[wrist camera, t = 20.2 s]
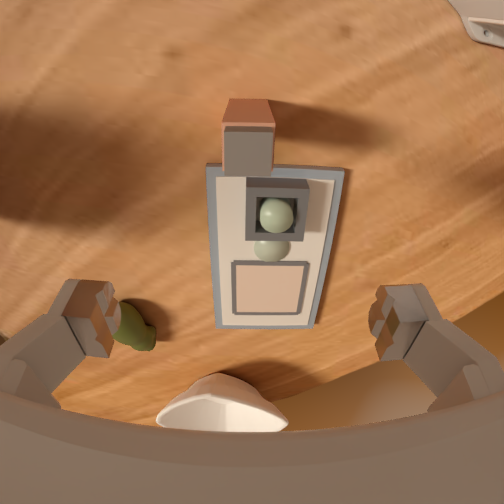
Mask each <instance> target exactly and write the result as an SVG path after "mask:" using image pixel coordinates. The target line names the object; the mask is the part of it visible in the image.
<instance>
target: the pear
mask: <svg viewBox="0 0 504 504" xmlns="http://www.w3.org/2000/svg"><path fill="white" fill-rule="evenodd" d="M119 305H120V310H121V322H120V326H119V329H118V331H117V332H116V333H114V334H113V335H112V337H113V339H115V340H116V341H118V342H120V343H122V344H125V345H130V346H131V347H132V348H134V349H135V350H138V351H146V350H147V351H150V350H153V348H154V347H155V344H156V329H155V328H154V327H152V326H146V325H145V323H144V321H143V319H142V317H141V315H140V314H139V312H138V311H137V310H136V309H135V308H134V307H133V306H132V305H130V304H128V303H125V302H119Z"/></svg>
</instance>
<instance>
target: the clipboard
mask: <svg viewBox="0 0 504 504" xmlns="http://www.w3.org/2000/svg"><path fill="white" fill-rule="evenodd" d="M344 173H345V171H344V170H343V168H337V167H322V166H305V165H282V164H273V172H271V177H266V176H224V171H222V163H207V165H206V185H207V206H208V225H209V241H210V257H211V272H212V285H213V299H214V311H215V323H216V328H220V329H310V328H313V326H314V322H315V318H316V314H317V310H318V305H319V301H320V297H321V292H322V288H323V284H324V279H325V274H326V270H327V265H328V260H329V255H330V251H331V246H332V241H333V235H334V230H335V225H336V220H337V214H338V209H339V203H340V197H341V191H342V185H343V179H344ZM246 177H265V178H296V179H306V180H307V183H308V185H309V188H310V194H309V202H308V210H307V217H306V225H305V233H304V240H303V242H296V241H245V213H246ZM263 198H264V197H256V220H260V209H259V206H260V202H261V200H262V199H263ZM288 200H289V201H290V204H291V209H292V213H293V207H294V198H288Z"/></svg>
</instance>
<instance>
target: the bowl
mask: <svg viewBox="0 0 504 504" xmlns="http://www.w3.org/2000/svg"><path fill="white" fill-rule="evenodd" d="M156 422H157V423H158V424H159V425H161V426H163V427H166V428H176V429H187V430H202V431H222V432H278V431H280V430H282V429H283V428H284V427H286V426H287V425H288V420H287V419H286V418H285V417H284V415H283V414H282V413H281V412H280V411H279V409H278V408H277V407H276V406H275V405H274V404H272V403H271V402H269V401H267V400H265V399H264V398H263V397H262V396H261V395H260V393H259V392H258V391H257V390H256V389H255V388H254V387H253V386H251V385H250V384H248V383H247V382H245V381H243V380H240V379H238V378H235V377H232V376H229V375H226V374H222V373H215V374H211V375H209V376H206V377H203V378H201V379H199V380H198V381H196V382H195V383H194V384H193V385H192V386H191V387H190V388H189V389H188V390H187V391H185V392H183V393H181V394H179V395H178V396H176V397H175V398H173V399H172V400H171V401H170V402H169V403H168V404H167V405H166V406H165V408H164V409H163V410H162V411H161V412H160V413H159V414H158V415H157V418H156Z"/></svg>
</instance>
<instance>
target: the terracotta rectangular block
mask: <svg viewBox="0 0 504 504" xmlns="http://www.w3.org/2000/svg"><path fill="white" fill-rule="evenodd" d="M274 143H275V120H274V118H273V115H272V112H271V109H270V106H269V103H268V101H267V99H230V100H229V103H228V105H227V108H226V111H225V114H224V117H223V120H222V171H224V176H266V177H271V172H273V162H274Z"/></svg>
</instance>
